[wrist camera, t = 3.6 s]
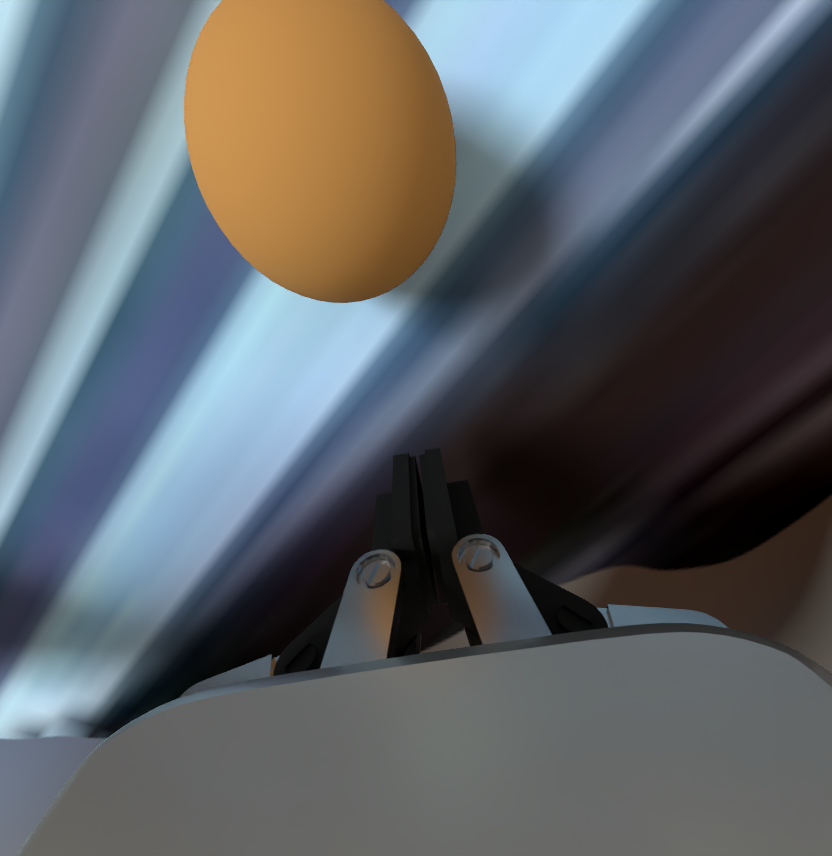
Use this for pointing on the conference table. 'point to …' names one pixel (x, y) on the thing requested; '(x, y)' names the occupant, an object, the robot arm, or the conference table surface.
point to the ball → (321, 142)
